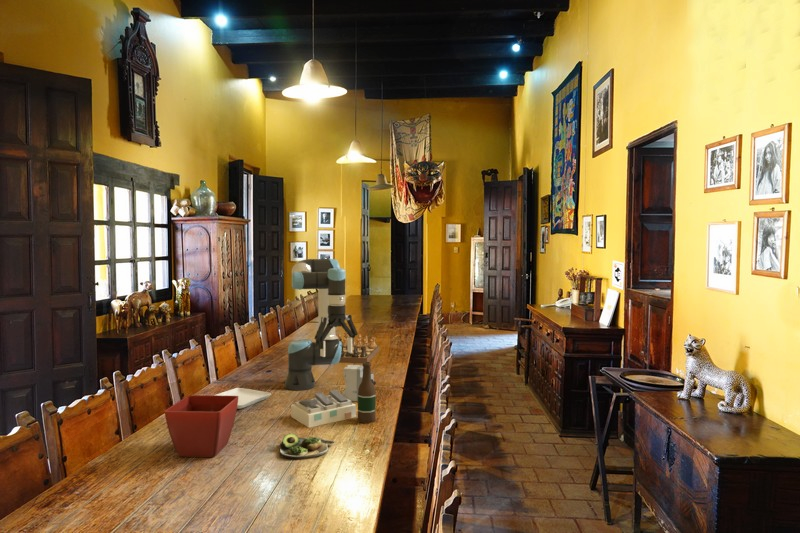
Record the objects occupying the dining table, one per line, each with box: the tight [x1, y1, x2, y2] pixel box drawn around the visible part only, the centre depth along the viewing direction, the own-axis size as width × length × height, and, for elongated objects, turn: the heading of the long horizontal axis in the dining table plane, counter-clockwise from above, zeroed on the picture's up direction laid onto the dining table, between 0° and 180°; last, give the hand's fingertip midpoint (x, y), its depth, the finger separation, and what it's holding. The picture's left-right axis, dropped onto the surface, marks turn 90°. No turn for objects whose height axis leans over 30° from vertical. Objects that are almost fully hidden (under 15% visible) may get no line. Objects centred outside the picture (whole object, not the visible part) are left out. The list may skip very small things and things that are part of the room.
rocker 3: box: [328, 389, 348, 403], centre depth 223 cm, size 10×3×2 cm, turn 37°
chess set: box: [337, 330, 380, 364], centre depth 338 cm, size 40×40×15 cm
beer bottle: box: [357, 361, 377, 424], centre depth 215 cm, size 8×8×24 cm
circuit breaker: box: [342, 364, 377, 402], centre depth 244 cm, size 8×14×15 cm, turn 78°
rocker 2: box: [314, 391, 333, 406], centre depth 219 cm, size 10×3×2 cm, turn 37°
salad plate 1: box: [215, 387, 272, 410], centre depth 239 cm, size 21×21×3 cm
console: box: [290, 394, 357, 428], centre depth 219 cm, size 16×22×6 cm
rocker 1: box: [299, 399, 318, 406], centre depth 215 cm, size 10×3×2 cm, turn 37°
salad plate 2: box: [279, 433, 336, 460], centre depth 185 cm, size 19×18×5 cm
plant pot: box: [164, 394, 238, 458], centre depth 183 cm, size 19×19×17 cm
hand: (336, 354), depth 223 cm, fingers open, 13 cm apart
